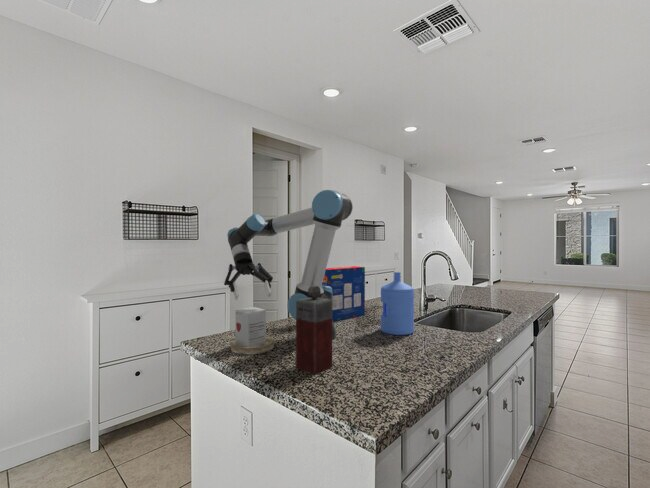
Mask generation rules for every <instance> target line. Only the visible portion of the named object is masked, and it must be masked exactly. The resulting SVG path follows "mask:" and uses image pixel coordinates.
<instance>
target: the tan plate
mask: <svg viewBox="0 0 650 488" xmlns="http://www.w3.org/2000/svg"><path fill="white" fill-rule="evenodd" d="M229 343H230V351H231V352H233V353H235V354H238V355H257V354H262V353H267V352H269V351H271V350H273V349H274V347H275V340H274V338H273V337H271V336H270V337H269V336H268V335H266V345H263V346H259V347H239V346H236V338H234V339H233V340H232V341H230V342H229Z"/></svg>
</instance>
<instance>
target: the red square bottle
mask: <svg viewBox="0 0 650 488" xmlns="http://www.w3.org/2000/svg"><path fill="white" fill-rule="evenodd" d="M320 293H321V290H320V288H319V287H318V286H310V287H309V289H308V296H309V297H310V298H304V299H299V300H297V301H296V320H295V334H296V335H295V368H296V369H298V370H301V371H304V372H306V373H309V374H312V375H318V374H320V373H321V372H325V371H327V370H329V369H332V368H333V339H332V300H330V299H325V298H319V296H320Z"/></svg>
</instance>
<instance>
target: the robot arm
mask: <svg viewBox="0 0 650 488" xmlns="http://www.w3.org/2000/svg"><path fill="white" fill-rule="evenodd" d="M353 208H354V207H353V202H352V200H351V199H350V197H349V196H348V195H346V194H344V193H341V192H339V191H336V190H334V189H333V190H332V189H325V190H321V191H319V192H318V193H317V194H316V195H315V196H314V197H313V199H312V201H311V207H309V208H306V209H302V210H301V209H300V210H298V211H295V212H291V213H288V214H284V215H280V216H277V217H273V218H269V219H265V218H264V217H263V216H261V215H259V214H257V213H253V214H251V216H249V217H248V218H246V220H245V221H244V222H243V223H242V224H241V225H240V226H239V227H233V228H231V229H229V230H228V232H227V234H226V235H227V241H228V245H229V247H230V251H231V255H232V258H233V262H234V265H233V264H232V263H229V265H228V268H227V269H228V271H227V275H226V277H225V279H224V283H223V285H224V286H228V288H229V289H230V292H231V293H233V296H234V299H235V301H236V300H238V299H239V291H238V288H237V285H236V281H237V279H238V278H239V277H240V276H241V275H242V276H245V275H246V276H247V275H248V276H249V275H251V276H252V277H255V278H257V279H258V280H259V281H261V282H263V283H264V284H263V285H264V288H265V291H266V295H267V297H268V298H270V297H271V294H272V290H271V288H272V285H271V283H272V281H273V279H274V277H273V276H272V275H271V274H270V273H269V272H268V271H267V270H266V269H265V268H264V267H263V266H262V264H261V263H260V262H258V263H257V264H254V262H253V261H254V260H253V259H252V255H251V252H250V248H249V245H248V243H249V242H251V240H252V239H253V238H255V237H258V236H259V237H263V236H265V237H274V236H277V235H278V234H281V233H285V232H288V231H292V230H293V231H294V230H297V229H301V228H305V227H309V226H313V225H314V228H313V232H312V237H311V239H310V240H311V241H310V244H309V248H308V253H307V256H306V261H305V264H304V269H303V273H302V277H301V280H300V282H298V283H296V286H295V289H294V293H293V294H292V295H291V296H290V297H289V298H288V301H287V305H286V307H287V311H288V313H289V314H290V316H291V317H292V318H293V319H294V320H295V321H296V301H297V300H299V299H304V298H310V297H309V296H308V289H309V287H310V286H318V287H319V288H320V290H321V293H320V296H319V298H325V299H330V300H332V295H333V293H332V288H331V287H330V286H322V282H323V278H324V274H325V270H326V268H328V267H327V266H328V263H329V258H330V255H331V251H332V246H333V243H334V239H335V234H336V232H337V231H338V230H339V229H340V228H341V227H342V222H343V221H345V220H347V219H348V218H349V217H350V216H351V214H352V213H353V212H352V211H353ZM234 270H235V271H236V273H235V274H234V275H233V277H232V278H231V279H230V277H231V275H232V273H233V271H234ZM336 330H337V329H336V327H335V322H333V320H332V340H334V339H336V338H337V331H336Z"/></svg>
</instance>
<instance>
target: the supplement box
mask: <svg viewBox="0 0 650 488" xmlns="http://www.w3.org/2000/svg"><path fill="white" fill-rule="evenodd" d="M266 315H267V311H266V309H263V308H259V307H256V306H250V307H244V308H238V309H237V308H236V309H235V339H236V346H239V347H259V346H263V345H266V336H267V335H266V333H267V331H266V327H267V326H266V324H267V323H266V320H267V318H266Z"/></svg>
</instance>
